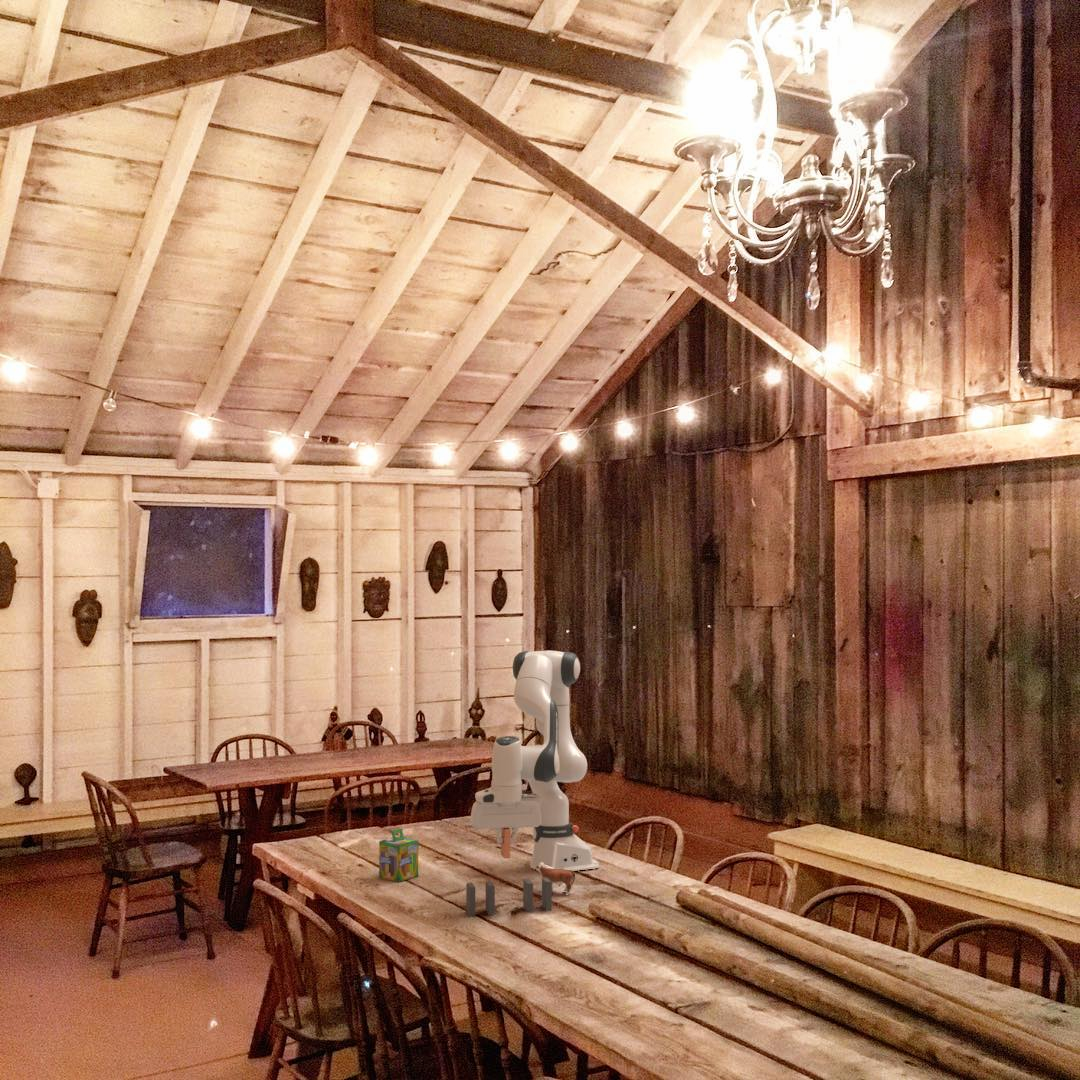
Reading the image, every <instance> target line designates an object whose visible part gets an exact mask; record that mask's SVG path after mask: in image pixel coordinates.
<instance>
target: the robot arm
mask: <svg viewBox="0 0 1080 1080" xmlns="http://www.w3.org/2000/svg"><path fill="white" fill-rule="evenodd" d="M513 658H514V659H513V661H512V673H513V677H514V679H515V680H516V681H515V685H514V691H513V701H514V703H515V705H516V707H517V708H518V709H519V710H520V711H522V713H524V714H526V715H527V716H530V717H532V718H534V719H535V727H536V729H537V731H538V732H539V733H540V734H541V735H542V736H543V744H532V745H522V744H521V739H520V738H519V737H516V736H513V735H504V736H500V737H498V738H496V739H495V741H494V743H493V747H492V754H491V755H492V756H491V772H492V780H491V783H490V785H491V786H490V787H489V788H486V789H483V790H480V791H477V792H475V793H474V795H475V796H474V797H475V802H473V804H472V807H471V813H470V826H471V827H472V828H473V829H474V830H485V829H487V830H488V829H489V830H490V829H493V832H494V834H495V835H496V837H497V840H496V841H497V844H498V845H501V844H503V843H504V842H503V840H504V838H503V837H501V834H500V833H501V828H509V829H511V831H512V832H511V833H510V845H511V844H515V838H516V836H517V833H518V832H519V828H533V830H532V831H533V833H532V835H533V836H532V837H533V840H534V844H533V849H532V850H533V851H532V856H531V861H530V864H529V867H530V869H532V868H533V870H535V869H536V870H535V871H537V868H536V866H537V865H539V863H541V862H543V863H544V865H546V864H548V865H549V867H553V868H556V869H564V870H572V871H577V870H582V869H589V868H590V869H591V868H598V867H599V868H600V863H599V862H598V861H597V860H596V859H595V858H594V857H593V854H592V850H591V848H590V846H589V845H588V843H586V842H585V841H584V840H582V839H581V838H580V837H578V835H576V834H575V833H578V831H580V827H578V825H575V824H573V823H572V822H570V816H569V815H570V814H569V812H570V810H569V809H570V806H569V805H570V803H569V802H570V801H569V798H568V797H567V795H566V794H565V793H564V792H563V791H562V790H561V789H560V787H559V784H558V783H565V784H566V783H577V782H580V781H582V780H583V779H584V777H585V776H586V774H587V772H588V761H587V758H586V755H584V753H583V752H582V751H581V750H580V749H579V748H578V746H577V744H576V742H575V740H574V737H573V734H572V730H571V724H570V723H571V722H570V720H571V718H570V712H571V711H570V705H571V704H570V698H571V697H570V687H571V685H573V684H575V683H576V681H578V679H579V677H580V674H581V673H580V672H581V663H580V659H579V657H578V656H577V655H576V653H574V652H570V651H564V652H563V651H560V650H559V651H558V650H547V649H546V650H535V651H529V650H527V651H525V650H523V651H519V652H518V653H517V654H516V655H515V656H514V657H513ZM522 780H526V781H527V782H528V784H529V786H530V789H531V792H532V793H523V781H522ZM599 868H598V869H599Z"/></svg>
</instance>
